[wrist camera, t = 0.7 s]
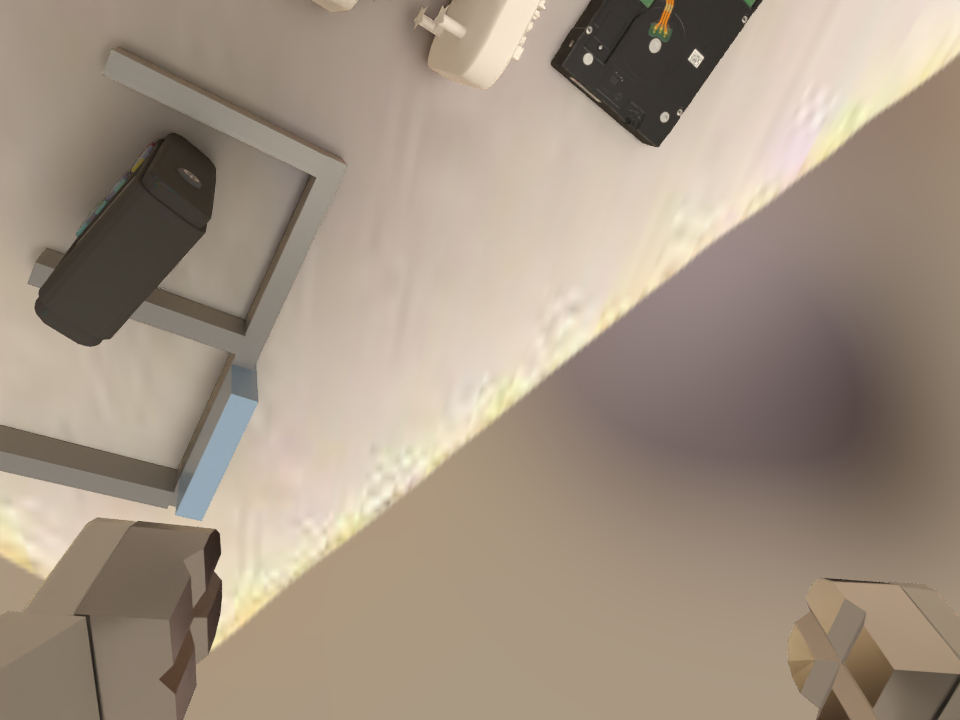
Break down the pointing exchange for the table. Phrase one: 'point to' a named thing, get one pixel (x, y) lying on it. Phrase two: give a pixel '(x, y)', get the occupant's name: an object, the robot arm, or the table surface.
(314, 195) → the comb rack
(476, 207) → the table surface
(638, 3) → the disk drive
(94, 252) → the card reader
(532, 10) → the cable organizer
